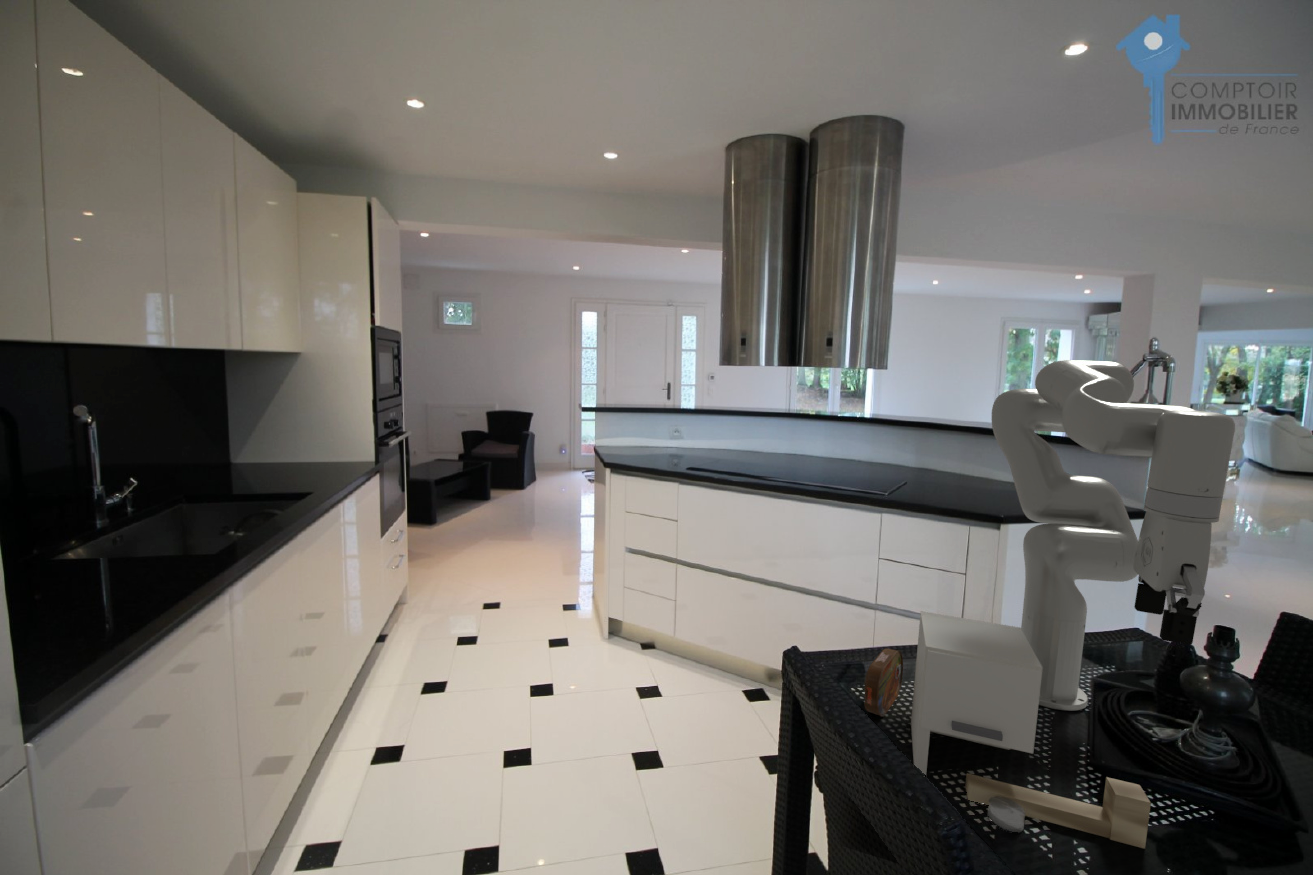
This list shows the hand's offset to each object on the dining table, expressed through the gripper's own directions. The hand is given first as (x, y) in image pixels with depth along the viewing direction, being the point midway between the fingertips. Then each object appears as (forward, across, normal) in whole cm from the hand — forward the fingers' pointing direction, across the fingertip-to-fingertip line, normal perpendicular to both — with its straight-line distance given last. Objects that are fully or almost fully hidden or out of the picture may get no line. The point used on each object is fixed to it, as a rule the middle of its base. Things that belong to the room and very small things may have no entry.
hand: (1161, 626), depth 80 cm
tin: (+25, -6, -34) cm, 43 cm away
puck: (+24, +17, -18) cm, 34 cm away
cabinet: (+24, +5, -22) cm, 33 cm away
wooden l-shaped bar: (+23, +13, -13) cm, 30 cm away
